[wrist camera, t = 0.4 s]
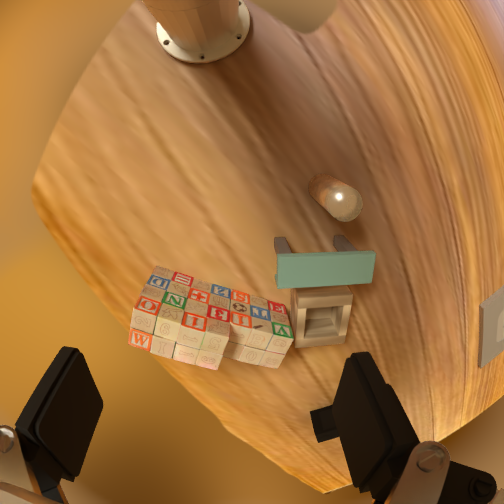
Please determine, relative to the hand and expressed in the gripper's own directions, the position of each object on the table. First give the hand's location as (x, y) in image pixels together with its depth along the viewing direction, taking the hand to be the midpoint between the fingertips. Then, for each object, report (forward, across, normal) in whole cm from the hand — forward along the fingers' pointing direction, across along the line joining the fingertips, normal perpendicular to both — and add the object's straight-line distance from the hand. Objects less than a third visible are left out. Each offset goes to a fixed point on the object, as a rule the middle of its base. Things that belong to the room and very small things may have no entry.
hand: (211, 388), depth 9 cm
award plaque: (+35, -74, +24) cm, 85 cm away
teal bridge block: (+34, -12, +7) cm, 36 cm away
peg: (+34, -13, -1) cm, 36 cm away
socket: (+34, -13, +17) cm, 40 cm away
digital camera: (+35, -22, +48) cm, 63 cm away
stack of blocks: (+34, +2, +17) cm, 38 cm away
